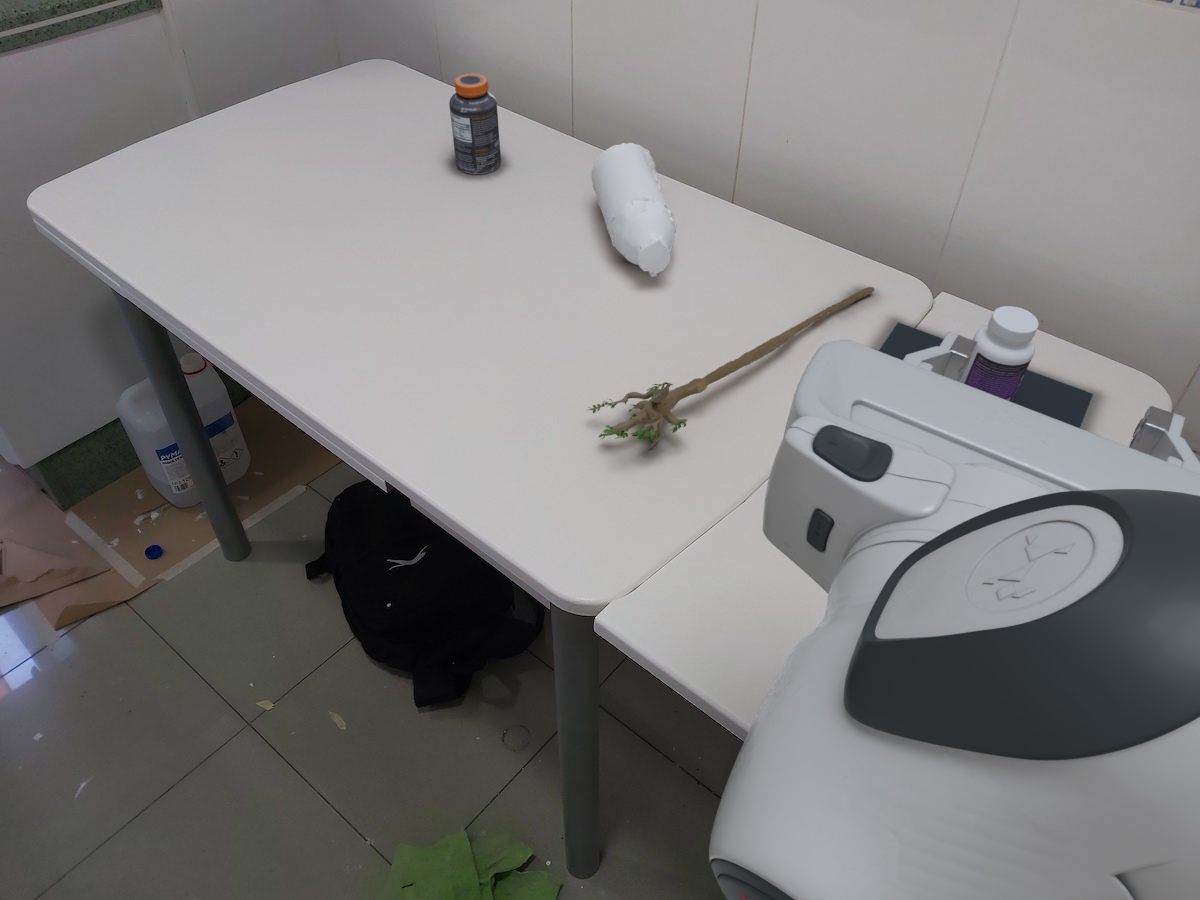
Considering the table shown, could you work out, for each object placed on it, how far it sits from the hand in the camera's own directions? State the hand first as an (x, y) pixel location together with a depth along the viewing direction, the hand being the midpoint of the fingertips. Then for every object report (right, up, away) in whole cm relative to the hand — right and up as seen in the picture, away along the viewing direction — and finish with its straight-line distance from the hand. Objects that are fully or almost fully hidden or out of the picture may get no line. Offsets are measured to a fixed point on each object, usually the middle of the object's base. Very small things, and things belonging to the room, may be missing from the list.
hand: (1055, 382), depth 42 cm
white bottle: (-17, +22, +62) cm, 68 cm away
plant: (-6, +4, +46) cm, 47 cm away
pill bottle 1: (-38, +34, +74) cm, 90 cm away
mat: (+14, +2, +44) cm, 46 cm away
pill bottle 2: (+15, +2, +44) cm, 46 cm away
